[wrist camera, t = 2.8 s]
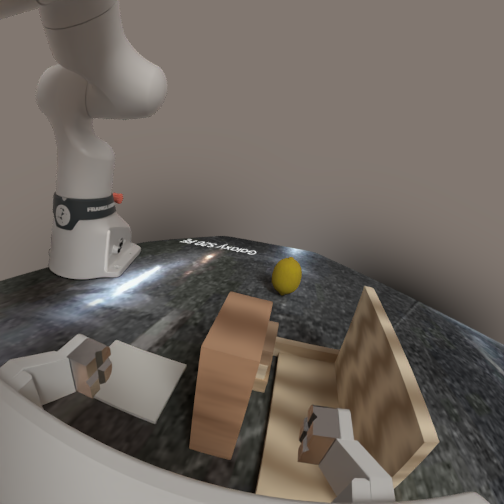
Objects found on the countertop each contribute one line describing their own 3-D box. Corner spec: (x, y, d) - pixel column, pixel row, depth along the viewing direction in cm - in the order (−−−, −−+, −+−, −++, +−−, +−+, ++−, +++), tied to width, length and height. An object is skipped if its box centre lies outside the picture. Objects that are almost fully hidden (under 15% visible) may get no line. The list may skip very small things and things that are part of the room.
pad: (116, 342, 36) (115, 339, 36) (186, 367, 35) (186, 364, 35) (74, 387, 26) (73, 385, 26) (155, 424, 25) (155, 421, 25)
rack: (225, 338, 42) (241, 253, 38) (339, 363, 41) (371, 284, 37) (159, 488, 18) (154, 394, 14) (353, 522, 17) (439, 442, 13)
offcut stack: (224, 347, 40) (231, 311, 39) (270, 359, 40) (281, 323, 38) (210, 379, 34) (217, 340, 32) (263, 393, 33) (275, 355, 31)
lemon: (285, 304, 56) (295, 265, 53) (262, 292, 59) (271, 254, 56) (300, 297, 60) (311, 260, 57) (278, 286, 63) (287, 250, 61)
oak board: (212, 389, 32) (230, 291, 28) (246, 398, 32) (272, 302, 28) (189, 448, 24) (201, 346, 19) (230, 460, 23) (259, 361, 19)
